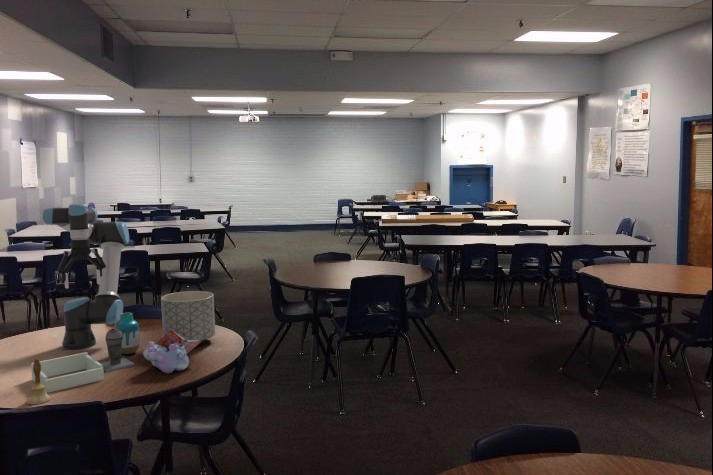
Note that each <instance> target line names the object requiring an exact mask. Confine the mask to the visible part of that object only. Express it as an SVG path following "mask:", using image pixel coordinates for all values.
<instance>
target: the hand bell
mask: <svg viewBox="0 0 713 475" xmlns="http://www.w3.org/2000/svg"><path fill="white" fill-rule="evenodd" d="M33 363H34V365H33V371H34V374H35V382H34V385H33V386H32V387H31V390H30V395H29V397H28V399H27V400H26V403H25V404H28V405H41V404H45V403H47V402H49V401H51V400H52V397H51V395H49V394H48V393H46V390H45V386H44V385H41V384H40V372H41V364H40V359H39V358H35V359H34V362H33Z"/></svg>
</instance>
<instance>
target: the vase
mask: <svg viewBox="0 0 713 475" xmlns="http://www.w3.org/2000/svg"><path fill="white" fill-rule="evenodd" d="M116 329H119V330H120V331H121V333H122V336H123V339H122V353H121V355H122V354H123V355H130V354H131V355H132V354H134V353H136V352H137V351H139V349H140V344H141V343H140V342H141V340H140V327H139V323H138V322H137V321H136V320H134V316H133V313H132V312H123V313H122V314H120V320H119V321H118V322H117V323H116Z"/></svg>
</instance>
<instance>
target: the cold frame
mask: <svg viewBox="0 0 713 475" xmlns="http://www.w3.org/2000/svg"><path fill="white" fill-rule="evenodd" d="M39 362H40V364H41V372H40V384H41V385H44V386H45V390H46V393H47V394H48V393H52V392H56V391H61V390H65V389H70V388H74V387H78V386H83V385H87V384H91V383H96V382H100V381H104V380H105V374H104V372H105V371H104V370H103V367H102V364H100V362H99V361H97V359H94V357H92V356H90V355H89V352H87V351H86V352H81V353H75V354H71V355H66V356H61V357H60V356H59V357H55V358H51V359H46V360H41V361H40V360H39ZM30 365H31V379H32V381H33V382H34V383H35V374H34V371H33V365H34V362H32V363H31V364H30ZM82 370H83V371H82ZM73 372H74V373H73ZM69 373H70V374H69ZM50 376H51V377H52V378H49V377H50ZM55 376H56V377H55Z"/></svg>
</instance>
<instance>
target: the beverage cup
mask: <svg viewBox="0 0 713 475" xmlns="http://www.w3.org/2000/svg"><path fill="white" fill-rule="evenodd" d="M116 324H117V323H116V319H115V323H114V328H110V329H109V330H108V331H107V332H106V334H105V337H104V338H105V343H106V347H107V354H108V361H110V364H111V365H116V364H120V363H121V358H122V339H123V336H122V333H121V331H120V330H119V329H116Z"/></svg>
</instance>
